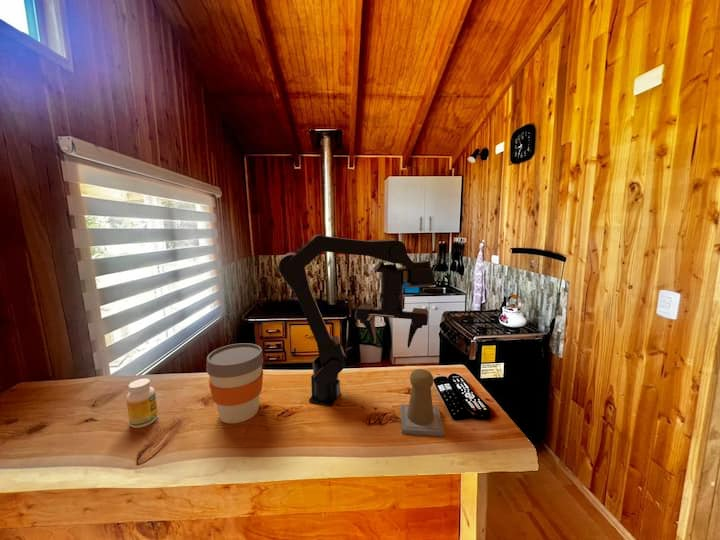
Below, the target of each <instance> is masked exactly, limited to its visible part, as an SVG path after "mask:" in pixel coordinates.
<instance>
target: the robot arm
mask: <svg viewBox="0 0 720 540" xmlns="http://www.w3.org/2000/svg"><path fill="white" fill-rule="evenodd" d="M407 249H408V248H407V246H406V245H405V244H404V242H403V241H401V240H397V239H393V238H386V239H374V240H373V239H372V240H365V239H364V240H363V239H354V238H344V237H337V236H336V237H335V236H327V235H323V234H316V235H313V237H312V238H311V239H309V241H308V242H306V243H304V245H302V246H301V247H299V248H298V249H297V250H296V251H295V252H292V251H291V252H287V253H286V254H284V255H283V256H282V257H281V259H280V261H279V264H278V271H279V273H280V275H281V277H282V278H283V279H284V280H285V282H286V284H287V285H288V286H289V287H290V289H291V290H292V291H293V293H294V294H295V296H296V298H297V300H298V303H299V305H300V308H301V310H302V313H303V315H304V317H305V319H306V322H307V324H308V326H309V329H310V331H311V334H312V335H313V338H314V340H315V342H316V346H317V351H318V356H317V357H316V358H314V360H313V361H312V372H313V373H312V374H311V377H310V378H311V379H310V381H311V384H310V385H311V397H309V399H308V401H309V403H313V404H318V405H325V406H333V405H334V404H335V402H336V401H337V399H338V398H339V396H340V394H341V380H340V379H339V374H340V373H341V372H342V371H343V370H344V368H345V365H346V364H345V360H344V359H346V358H347V357H346V354H345V351H344V347H343V346H342V345H341V342H340V340H339V336H338V335H335V336H332V335H331V333H330V332H329V329H328V328H327V325H326V322H325V321H324V318H323V315H322V313H321V311H320V308H319V307H318V303H317V301H316V299H315V297H314V295H313V292H312V289H311V286H310V283H309V279H308V274H307V271H306V267H307V266H308V265H309V264H310V263H312V261H314V260H315V259H316V258H317V257H318V256H320V255H321V253H324V252H325V253H326V252H327V253H337V254H346V255H354V256H355V255H357V256H366V257H369V258H375V259H377V260H381V261H379V262H378V263H377V264H376V265H375V266H374V267H373V268H372V269H373V271H375V272H376V273H380V280H381V281H380V294H379V303H380V308H379V309H378V308H375V305H374V304H365V303H362V304H360V305H359V306H358V307H357V308H355V310H354V312H355V313H354V319H355V320H356V321H357V320H358V321H359V323H360V324H363V326H364V327H365V328H366V331H367V333H368V334H369V337H370V339H371V341H372V344H373V345H375V344H376V342H377V334H376V317H379V318H380V317H381V318H393V319H403V320H404V319H406V320H410V321H411V322H410V325H409V330H408V331H409V332H408V337H407V348H410V346H411V343H412V341H413V338H414V335H416V332H418V331H417V330H418V329H423V326H428V323H429V316H430V315H429V313H430V312H429V310H428V309H427V308H421V307H420V308H419V307H413V309H412V311H404V310H405V303H406V301H405V299H406V297H405V295H404V284H406V286H408V288H424V287H426V288H427V287H428V288H429V287H432V286H433V284H434V282H435V281H434V278H435V275H434V272H433V268H432V266H431V261H429V260H421V261H412V259H411V258H410V255H408V253H407V251H408V250H407ZM382 261H384V262H387V263H388V264H384V263H383V262H382ZM389 263H391V264H389ZM396 264H398V265H400V266H399V267H397V265H396ZM401 266H403V267H401Z"/></svg>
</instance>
